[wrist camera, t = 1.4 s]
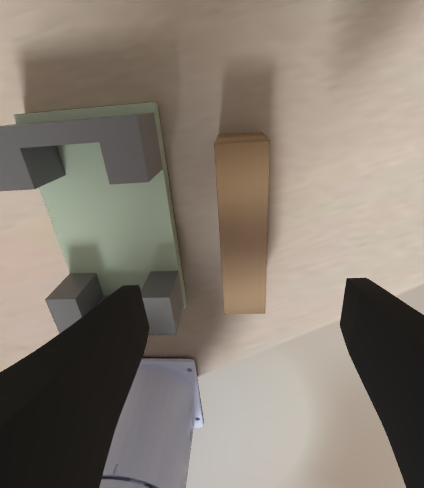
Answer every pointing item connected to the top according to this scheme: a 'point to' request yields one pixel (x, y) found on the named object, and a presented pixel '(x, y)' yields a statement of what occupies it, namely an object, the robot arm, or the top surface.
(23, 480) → the robot arm
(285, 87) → the top surface
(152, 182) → the base board
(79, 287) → the end caps
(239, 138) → the slat
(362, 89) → the top surface
